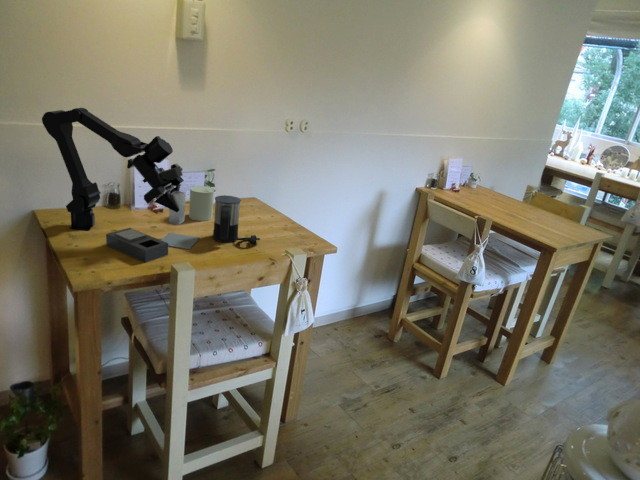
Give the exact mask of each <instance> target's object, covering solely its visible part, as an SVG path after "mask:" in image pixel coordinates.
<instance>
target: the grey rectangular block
mask: <svg viewBox="0 0 640 480" xmlns="http://www.w3.org/2000/svg"><path fill="white" fill-rule="evenodd" d="M186 195H187V194H186V192H185V191H180V190H179V191H174V192H172V193H171V194H170V196H171V198H172V199H173V201H174V202H175V204H176V205H177V207H178V209H179V211H178V212H175V211H173V210H171V209H169V208H168V210H169V211H168V213H169V214H168V224H172V225H178V226H179V225H181V224H182V223H183V222H185V219H186V218H185V215H186V213H185V212H186Z"/></svg>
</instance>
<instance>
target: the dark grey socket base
mask: <svg viewBox="0 0 640 480" xmlns="http://www.w3.org/2000/svg"><path fill="white" fill-rule="evenodd" d="M105 237H106V238H105V242H106V247H109V248H111V249H113V250H116V251H118V252H120V253H122V254H125V255H127V256H129V257H132V258H134V259H137V260H139V261H141V262H143V263H145V264H146V263H148V262H152V261H155V260H157V259H161V258H163V257H166V256H168V255H169V246H168V243H166V242H164V241H161V240H162V239H158V238H156V237H154V236H151V235H148V234H146V233H144V232H141V231H139V230H136V229H134V228H131V227H127V228H124V229H120V230H115V231H112V232H108V233H106V234H105Z"/></svg>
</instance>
